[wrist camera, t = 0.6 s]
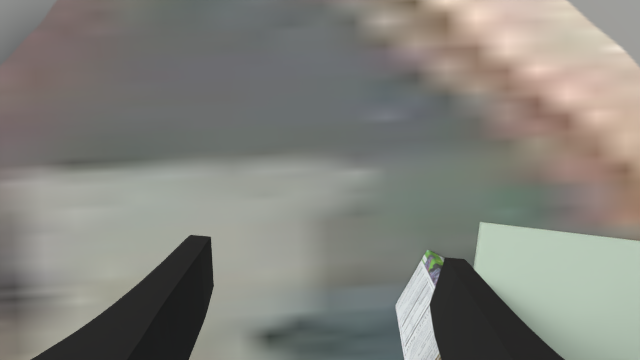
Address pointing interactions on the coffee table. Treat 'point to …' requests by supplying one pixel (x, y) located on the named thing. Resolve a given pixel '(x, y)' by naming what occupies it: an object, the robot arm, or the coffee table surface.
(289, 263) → the coffee table surface
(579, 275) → the mat
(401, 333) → the syrup box
